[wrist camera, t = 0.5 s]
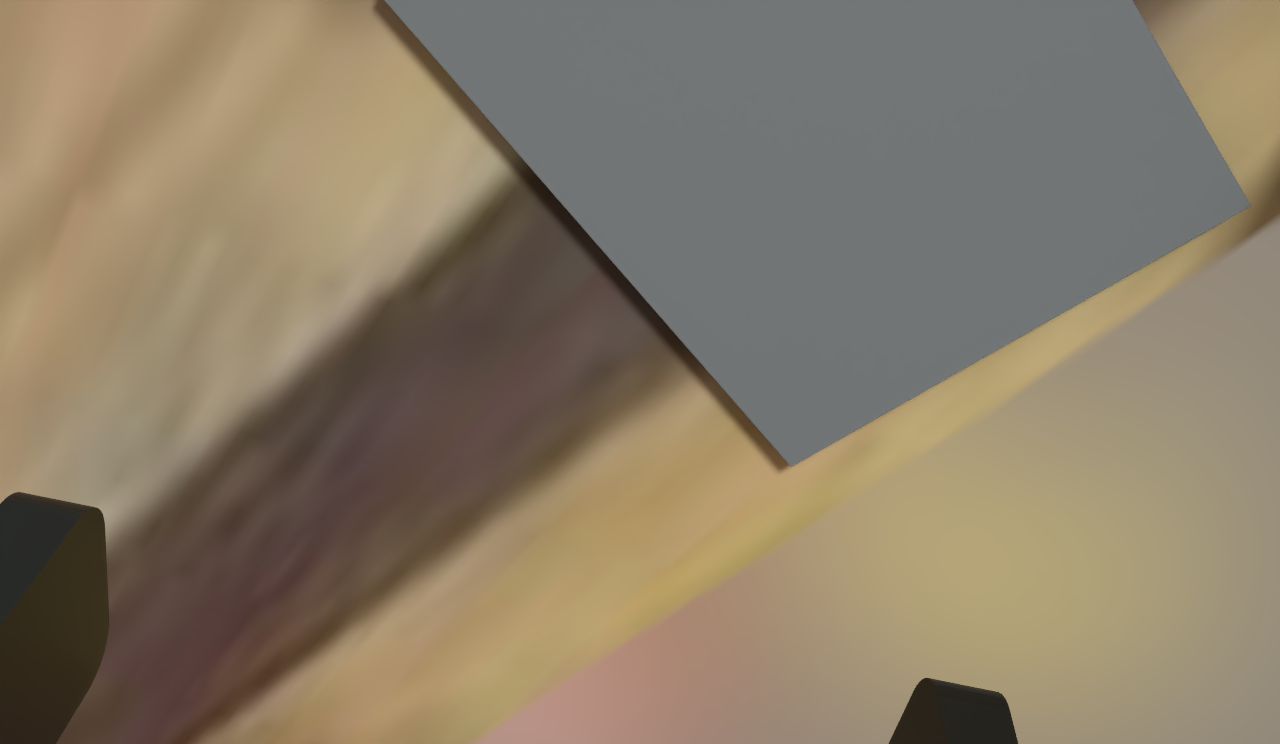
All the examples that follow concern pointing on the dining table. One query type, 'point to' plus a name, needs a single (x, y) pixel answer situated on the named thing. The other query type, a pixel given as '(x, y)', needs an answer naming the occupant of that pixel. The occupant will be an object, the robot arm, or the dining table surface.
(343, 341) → the dining table surface
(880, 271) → the mat
